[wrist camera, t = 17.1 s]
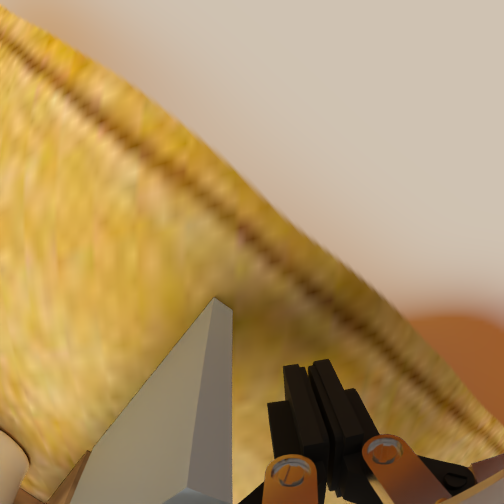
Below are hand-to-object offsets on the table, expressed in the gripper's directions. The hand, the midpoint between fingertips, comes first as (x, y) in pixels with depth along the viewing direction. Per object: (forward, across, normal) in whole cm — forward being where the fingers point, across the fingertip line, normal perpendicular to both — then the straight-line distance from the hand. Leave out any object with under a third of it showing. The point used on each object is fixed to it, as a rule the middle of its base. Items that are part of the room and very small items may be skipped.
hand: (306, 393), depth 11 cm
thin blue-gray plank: (+4, +8, +2) cm, 9 cm away
